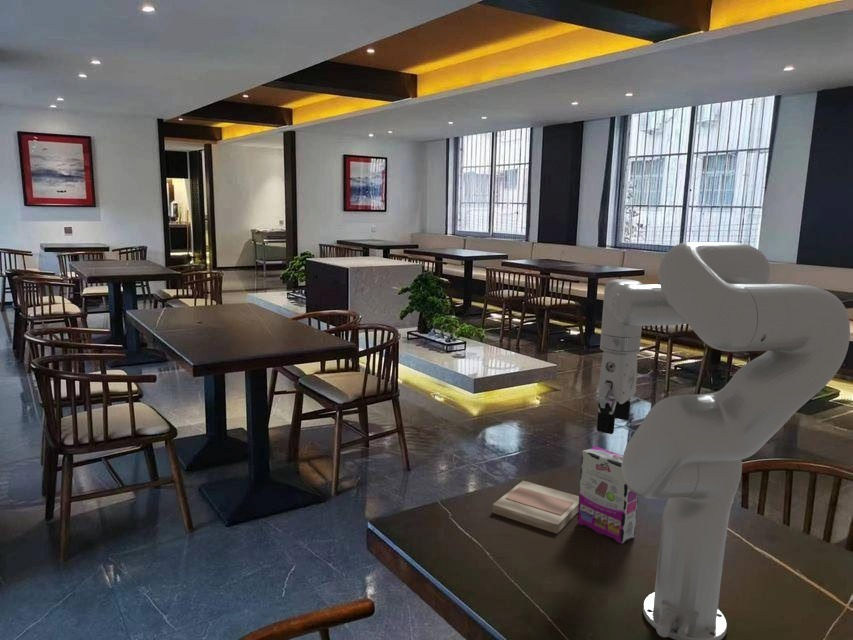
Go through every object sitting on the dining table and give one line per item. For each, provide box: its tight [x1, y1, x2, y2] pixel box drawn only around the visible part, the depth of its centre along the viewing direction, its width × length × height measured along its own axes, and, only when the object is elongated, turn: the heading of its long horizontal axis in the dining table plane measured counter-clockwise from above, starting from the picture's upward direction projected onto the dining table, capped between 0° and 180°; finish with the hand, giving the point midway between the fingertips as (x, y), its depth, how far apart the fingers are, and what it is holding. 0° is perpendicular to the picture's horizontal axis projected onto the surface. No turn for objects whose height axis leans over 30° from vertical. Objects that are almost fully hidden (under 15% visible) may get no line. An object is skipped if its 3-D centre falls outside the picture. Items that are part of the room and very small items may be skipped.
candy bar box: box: [576, 446, 639, 545], centre depth 129 cm, size 11×5×16 cm, turn 40°
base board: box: [492, 480, 579, 535], centre depth 139 cm, size 15×15×2 cm
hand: (613, 425), depth 127 cm, fingers open, 9 cm apart
